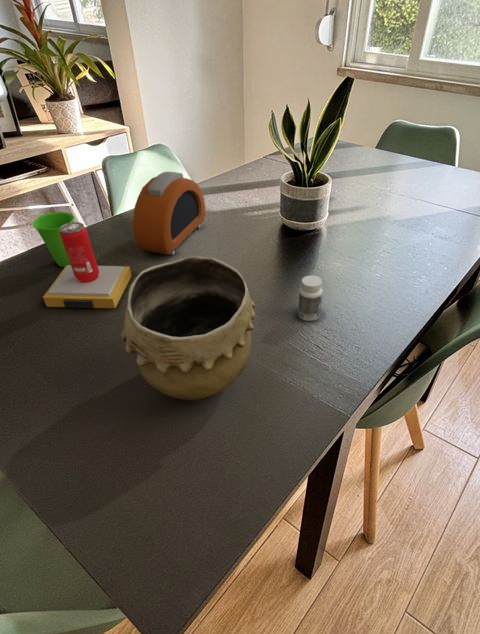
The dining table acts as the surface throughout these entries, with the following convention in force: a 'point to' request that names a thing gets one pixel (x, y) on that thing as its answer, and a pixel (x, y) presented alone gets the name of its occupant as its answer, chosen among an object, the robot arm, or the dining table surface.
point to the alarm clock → (167, 212)
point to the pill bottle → (310, 298)
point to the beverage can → (79, 252)
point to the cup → (54, 234)
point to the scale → (89, 289)
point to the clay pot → (189, 326)
